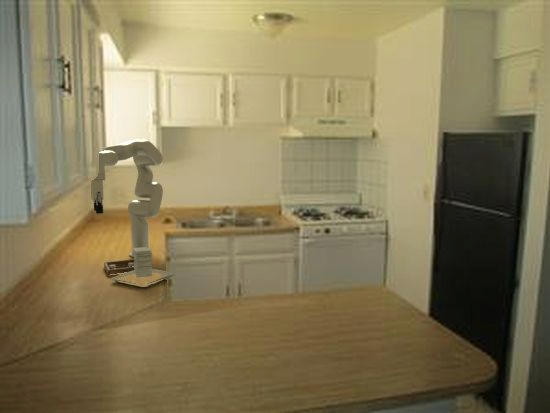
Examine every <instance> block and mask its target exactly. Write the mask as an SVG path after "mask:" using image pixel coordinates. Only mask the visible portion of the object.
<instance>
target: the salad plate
mask: <svg viewBox="0 0 550 413" xmlns="http://www.w3.org/2000/svg"><path fill="white" fill-rule="evenodd" d="M152 273H159V274H163V275H164V276H165V277H162V278H159V279H157V280H155V281H158V280H161V279H165V280H164V281H166V280H168V279H170V278H172V277H174V275H175V274H176V273H175V272H174V271H168V270H161V269H155V268H152ZM132 274H135V273H134V270H133V271H130V272H127V273H124V274H121V275H115V276H112V277H111V278H110V279H111V280H112V281H113V280H114V281H113V282H115V281H123V280H117V279H118V278H121V277H124V276H128V275H132ZM155 281H152V282H155ZM123 282H128V281H123ZM152 282H150V283H152ZM129 283H132V282H129ZM134 284H136V283H134ZM148 284H149V283H148Z"/></svg>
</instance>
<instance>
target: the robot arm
mask: <svg viewBox="0 0 550 413" xmlns="http://www.w3.org/2000/svg"><path fill="white" fill-rule="evenodd" d="M103 148H104V151H101V152H99V173H98V176H97V177H96V178H95V179H94V180H92V181H90V199H91V201H92V202H93V211H94V212H95V213H96V214H98V215H100V214H103V213H104V204H103V201H104V181H106V171H105V169H106V168H105V167H113V166H116V165H117V164H118V163H119V162H121V161H125V160H128V159H131V158H132V160H133V162H134V165H135V167H136V170H137V178H136V182H135V183H136V184H135V188H134V196H135V197H136V198H138V199H133V200H131V201H130V202H129V203H128V205H127V210H128V215H129V220H130V240H131V241H130V243H131V251H130V252H128V256H130V257H133V258H134V250H133V248H141V247H149V248H150V245H149V244H150V243H149V242H150V241H149V223H148V220H147V219H146V218H157V217H158V215H159V213H160V209H161V204H162V199H163V194H164V193H163V192H164V191H163V190H164V189H163V186H162V184H161V183H159V182H156V181H155V182H153V179H154V173H153V171H152V169H151V167H150V166H152V167H158V166H161V164H162V162H163V155H162V152H161V151H160V150H159V149H158V148H157V147H156V146H155V144H153V143H152V142H151V141H149V140H147V139H133V140H129V141H125V142H122V143H119V144H115V145H110V146H105V147H103ZM147 199H149V200H147ZM151 255H153V254H152V251H151Z"/></svg>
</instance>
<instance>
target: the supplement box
mask: <svg viewBox="0 0 550 413" xmlns="http://www.w3.org/2000/svg"><path fill="white" fill-rule="evenodd" d="M133 250H134V257H133V259H134V273H135V275H136V278H140V277H149V276H152V269H153V264H152V254H151V252H152V249H151V248H150V246H149V247H141V248H133Z"/></svg>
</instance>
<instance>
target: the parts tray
mask: <svg viewBox="0 0 550 413" xmlns="http://www.w3.org/2000/svg"><path fill="white" fill-rule="evenodd" d="M129 262H134V258H132V259H121V260H115V261H113V260H112V261H104V262H103V269H104V270H105V272H106V274H107V273H108V274H107V276H108V275H110V274H117V273H124V272H130V271H133V270H134V267H128V266H127V267H125V266H124V265H128V263H129ZM113 264H114V265H115V266H122V267H118V268H116V269H109V265H113Z"/></svg>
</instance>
